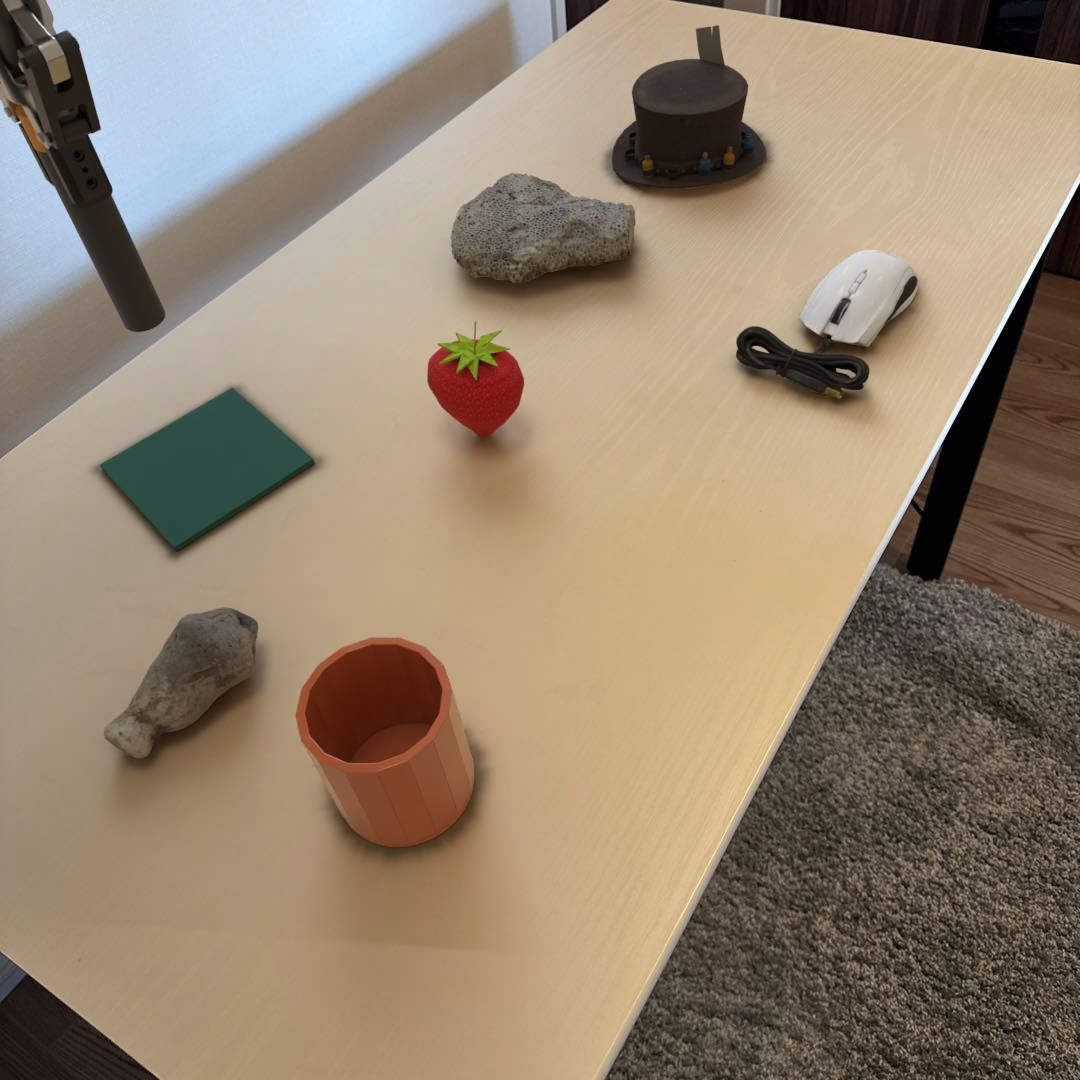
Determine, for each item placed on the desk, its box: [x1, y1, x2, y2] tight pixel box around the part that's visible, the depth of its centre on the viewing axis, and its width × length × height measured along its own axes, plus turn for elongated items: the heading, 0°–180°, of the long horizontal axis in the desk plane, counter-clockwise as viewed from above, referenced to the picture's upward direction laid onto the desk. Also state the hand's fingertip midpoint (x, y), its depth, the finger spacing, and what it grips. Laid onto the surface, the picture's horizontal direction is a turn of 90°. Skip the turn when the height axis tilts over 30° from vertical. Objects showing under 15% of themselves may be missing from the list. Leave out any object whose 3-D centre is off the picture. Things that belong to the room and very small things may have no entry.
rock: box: [450, 172, 636, 284], centre depth 90 cm, size 15×16×5 cm
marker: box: [16, 105, 166, 333], centre depth 59 cm, size 3×3×14 cm
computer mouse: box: [735, 249, 919, 400], centre depth 80 cm, size 10×18×4 cm, turn 144°
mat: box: [99, 387, 316, 552], centre depth 78 cm, size 12×12×1 cm
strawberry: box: [426, 320, 525, 437], centre depth 74 cm, size 6×8×10 cm
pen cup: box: [295, 636, 475, 848], centre depth 56 cm, size 8×8×9 cm
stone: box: [103, 606, 259, 759], centre depth 62 cm, size 10×5×8 cm
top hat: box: [611, 24, 767, 190], centre depth 96 cm, size 15×15×10 cm
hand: (81, 189), depth 57 cm, fingers closed on marker, 2 cm apart
